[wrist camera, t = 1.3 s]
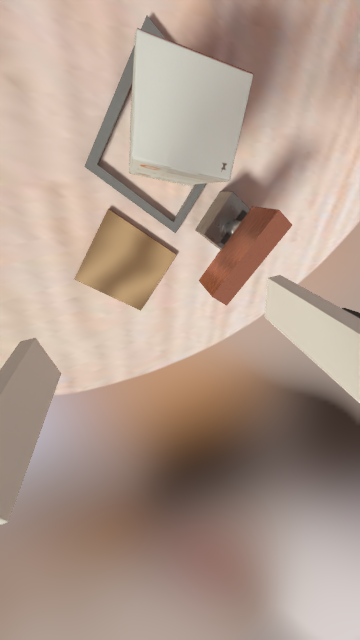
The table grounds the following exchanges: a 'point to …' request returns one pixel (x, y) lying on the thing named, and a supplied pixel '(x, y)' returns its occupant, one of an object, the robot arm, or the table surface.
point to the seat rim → (106, 131)
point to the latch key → (244, 251)
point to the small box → (184, 112)
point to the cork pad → (124, 262)
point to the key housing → (221, 218)
